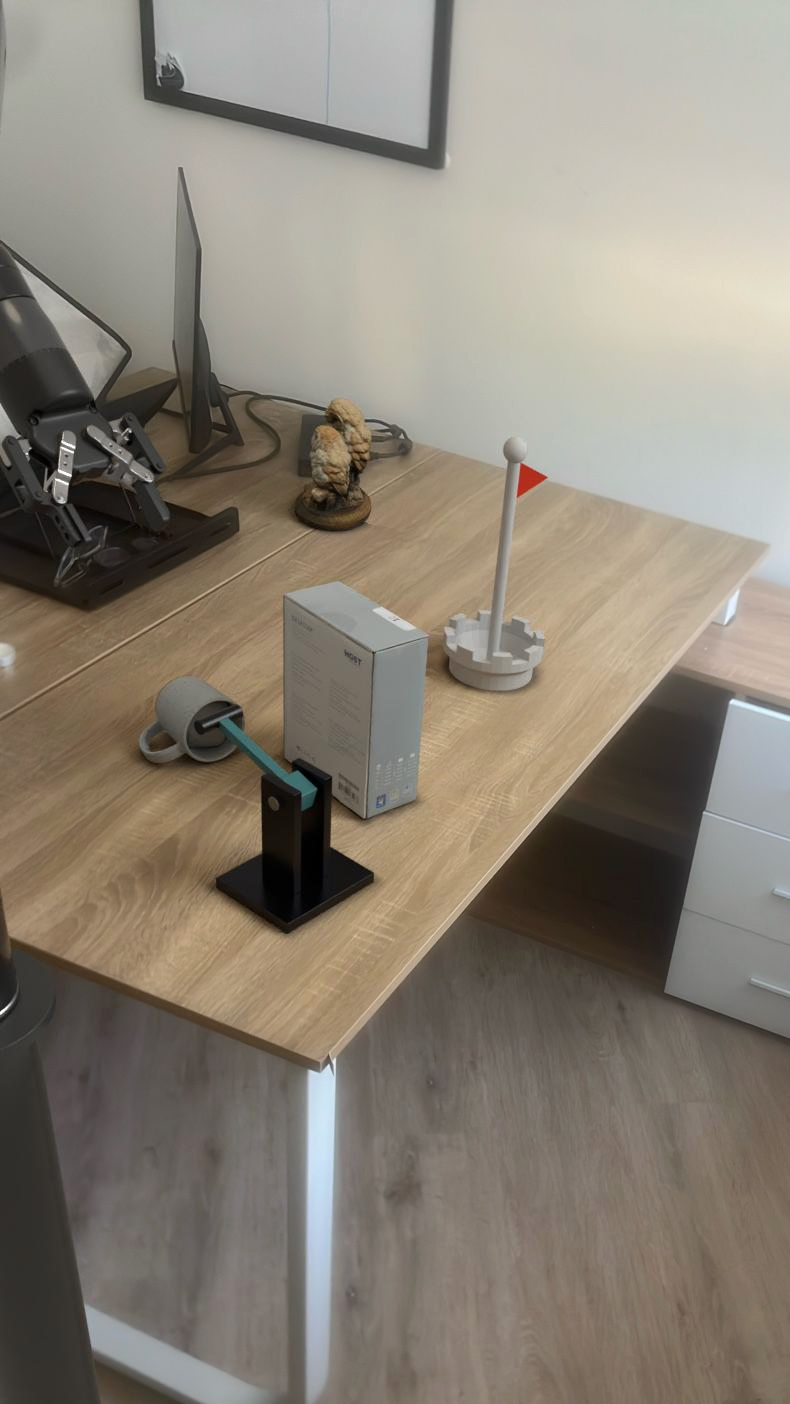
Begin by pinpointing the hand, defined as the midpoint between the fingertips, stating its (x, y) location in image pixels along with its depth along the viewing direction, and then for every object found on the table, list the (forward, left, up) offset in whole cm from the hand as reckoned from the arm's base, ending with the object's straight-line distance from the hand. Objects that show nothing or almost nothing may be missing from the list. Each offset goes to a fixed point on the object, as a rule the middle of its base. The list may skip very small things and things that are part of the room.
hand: (125, 537), depth 115 cm
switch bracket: (+2, -20, -29) cm, 36 cm away
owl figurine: (+75, +46, -30) cm, 93 cm away
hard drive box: (+20, -10, -30) cm, 37 cm away
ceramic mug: (+11, +6, -30) cm, 32 cm away
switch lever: (+2, -14, -18) cm, 23 cm away
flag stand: (+53, -4, -30) cm, 61 cm away
